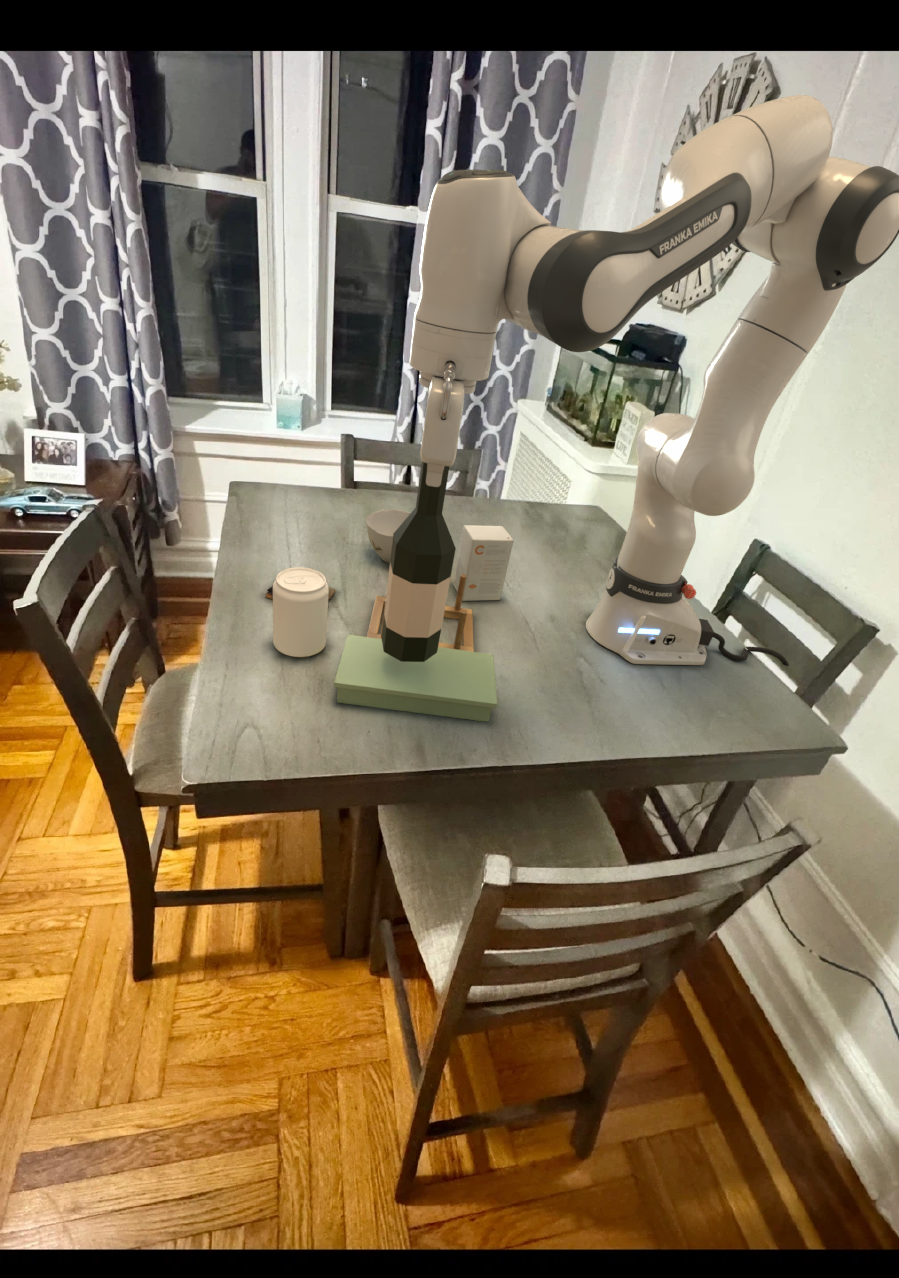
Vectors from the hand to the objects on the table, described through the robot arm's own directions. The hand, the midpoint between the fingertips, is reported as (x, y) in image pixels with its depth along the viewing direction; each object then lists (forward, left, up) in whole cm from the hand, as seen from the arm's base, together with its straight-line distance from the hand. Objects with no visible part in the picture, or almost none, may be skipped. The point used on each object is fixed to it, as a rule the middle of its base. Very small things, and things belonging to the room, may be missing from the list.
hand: (433, 477), depth 73 cm
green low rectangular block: (-2, 0, -33) cm, 33 cm away
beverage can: (+17, -7, -33) cm, 38 cm away
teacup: (+4, -42, -33) cm, 54 cm away
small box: (-12, -32, -33) cm, 47 cm away
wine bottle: (0, 0, -25) cm, 25 cm away
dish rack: (-2, -16, -33) cm, 36 cm away
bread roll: (+20, -22, -33) cm, 44 cm away
